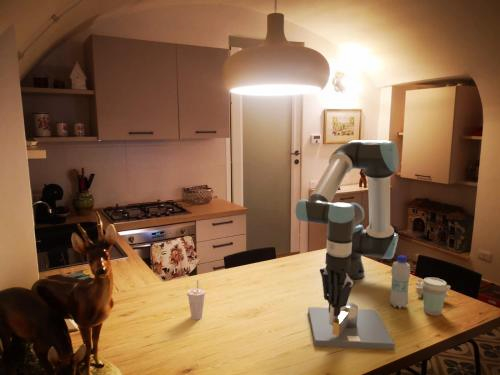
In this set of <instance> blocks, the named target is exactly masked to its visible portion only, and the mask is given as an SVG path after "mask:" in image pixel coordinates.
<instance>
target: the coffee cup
mask: <svg viewBox="0 0 500 375" xmlns="http://www.w3.org/2000/svg"><path fill="white" fill-rule="evenodd" d="M422 281H423V282H422V286H423V295H422V300H423V302H422V303H423V304H422V305H423V312H424V313H426V314H427V315H430V316H433V317H434V316H436V317H437V316H441V315H442V312H443V308H444V305H445V304H444V303H445V299H446V297H445V295H446V292H447V291H446V290H447V289H448V288H447V287H448V286H449V285H448V284H447V283H448V282H446V281H445V280H444V279H440V278H439V277H430V276H429V277H425V278H424V279H423V280H422Z"/></svg>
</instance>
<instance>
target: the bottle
mask: <svg viewBox="0 0 500 375" xmlns="http://www.w3.org/2000/svg"><path fill="white" fill-rule="evenodd" d="M407 260H408V259H407V256H405V255H403V254H402V255H401V254H400V255H399V254H398V256H397V257H396V261H394V262H392V266H391V271H390V272H391V274H390V275H391V288H390V295H389V296H390V297H389V303H390V305H391V306H393V308H397V307H398V309H401V308H402V309H405V308H406V307H407V306H408V303H409V281H410V280H409V279H410V277H411V265H410V263H408V262H407Z"/></svg>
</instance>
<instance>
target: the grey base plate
mask: <svg viewBox="0 0 500 375" xmlns="http://www.w3.org/2000/svg"><path fill="white" fill-rule="evenodd" d="M307 312H308V317H309V318H308V319H309V322H310V328H311V334H312V337H313V343H314V347H323V348H324V347H325V348H327V347H328V348H346V349H347V348H348V349H349V348H350V349H351V348H352V349H367V350H368V349H369V350H371V349H373V350H389V351H391V350H392V351H394V350H395V347H396V346H395V345H396V343H395V342H394V340H393V338H392V336H391V334H390V333H389V331H388V330H387V327H386V326H385V324H384V323H383V321H382V319H381V317H380V316H379V314H378V312H377V310H376V309H371V308H370V309H368V308H358V315H357V326H356V327H353V328H347V327H345V328H344V330H343V331H342V332H341V334H340V336H336V335H333V334H332V330H333V326H331V325H330V324H329V317H330V313H329V307H319V306H317V307H315V306H309V307H308V310H307Z"/></svg>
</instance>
